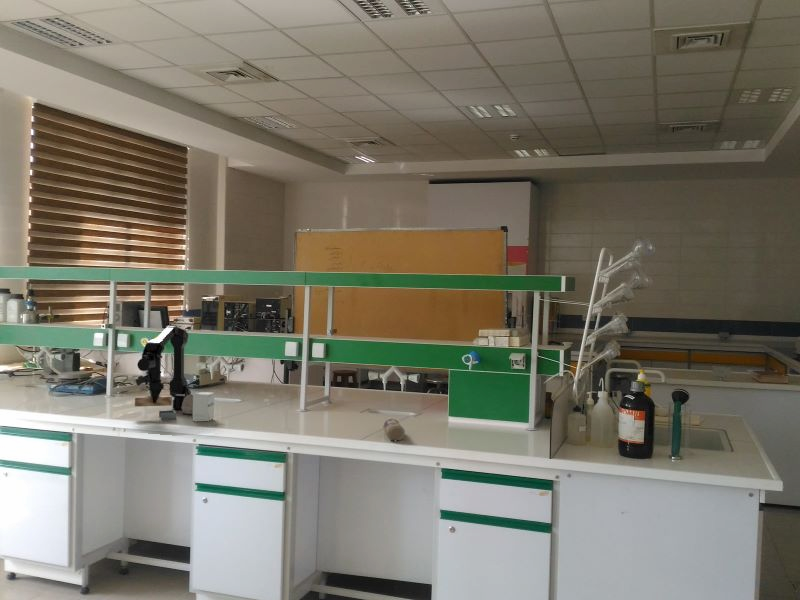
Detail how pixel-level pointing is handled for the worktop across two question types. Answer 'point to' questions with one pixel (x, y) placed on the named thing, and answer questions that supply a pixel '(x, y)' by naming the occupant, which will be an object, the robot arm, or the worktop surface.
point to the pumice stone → (188, 404)
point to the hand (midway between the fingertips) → (153, 402)
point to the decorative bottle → (393, 429)
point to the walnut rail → (149, 401)
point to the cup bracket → (167, 414)
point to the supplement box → (203, 406)
